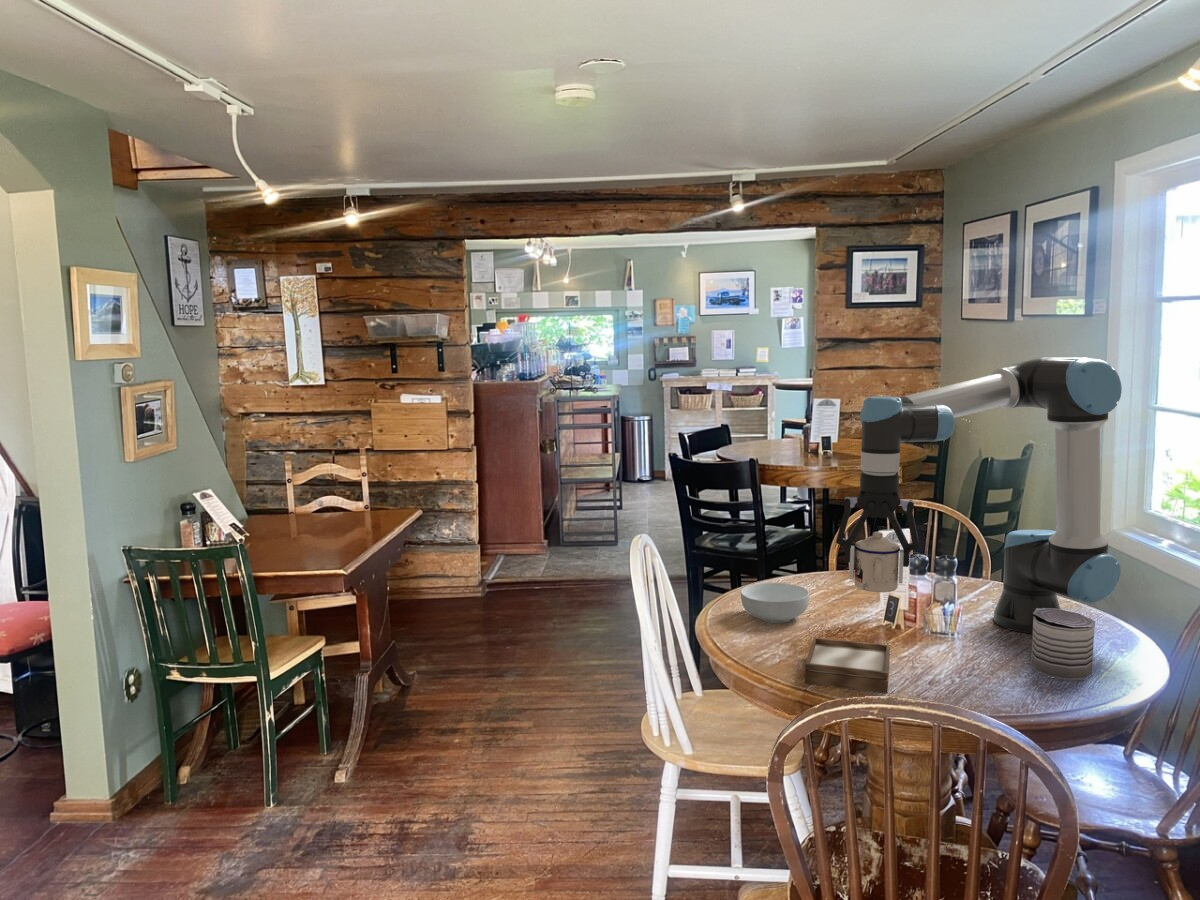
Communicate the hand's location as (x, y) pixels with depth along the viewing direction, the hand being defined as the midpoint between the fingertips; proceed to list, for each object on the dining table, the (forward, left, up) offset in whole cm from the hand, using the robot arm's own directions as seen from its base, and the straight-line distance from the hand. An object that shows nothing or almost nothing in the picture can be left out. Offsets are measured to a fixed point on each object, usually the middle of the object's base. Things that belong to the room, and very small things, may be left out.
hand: (875, 579), depth 178 cm
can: (-37, -13, -20) cm, 44 cm away
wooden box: (+5, +2, -20) cm, 21 cm away
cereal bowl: (+25, -29, -20) cm, 43 cm away
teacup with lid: (0, 0, -2) cm, 2 cm away
